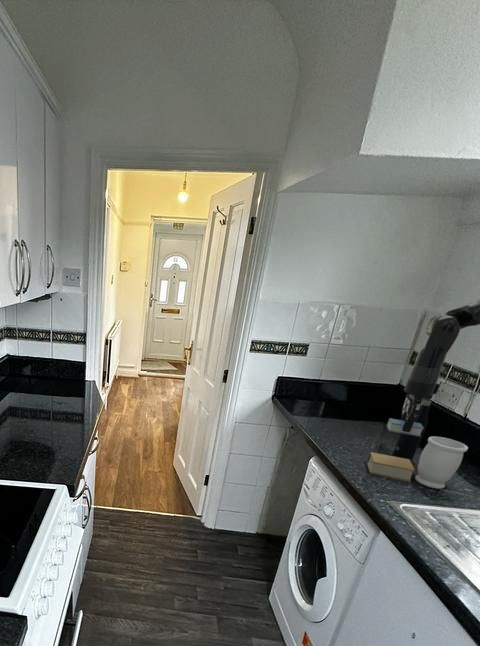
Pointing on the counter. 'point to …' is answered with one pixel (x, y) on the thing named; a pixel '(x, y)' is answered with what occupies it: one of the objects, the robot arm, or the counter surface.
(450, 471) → the jar
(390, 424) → the pocket book
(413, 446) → the wine bottle
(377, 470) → the big book
